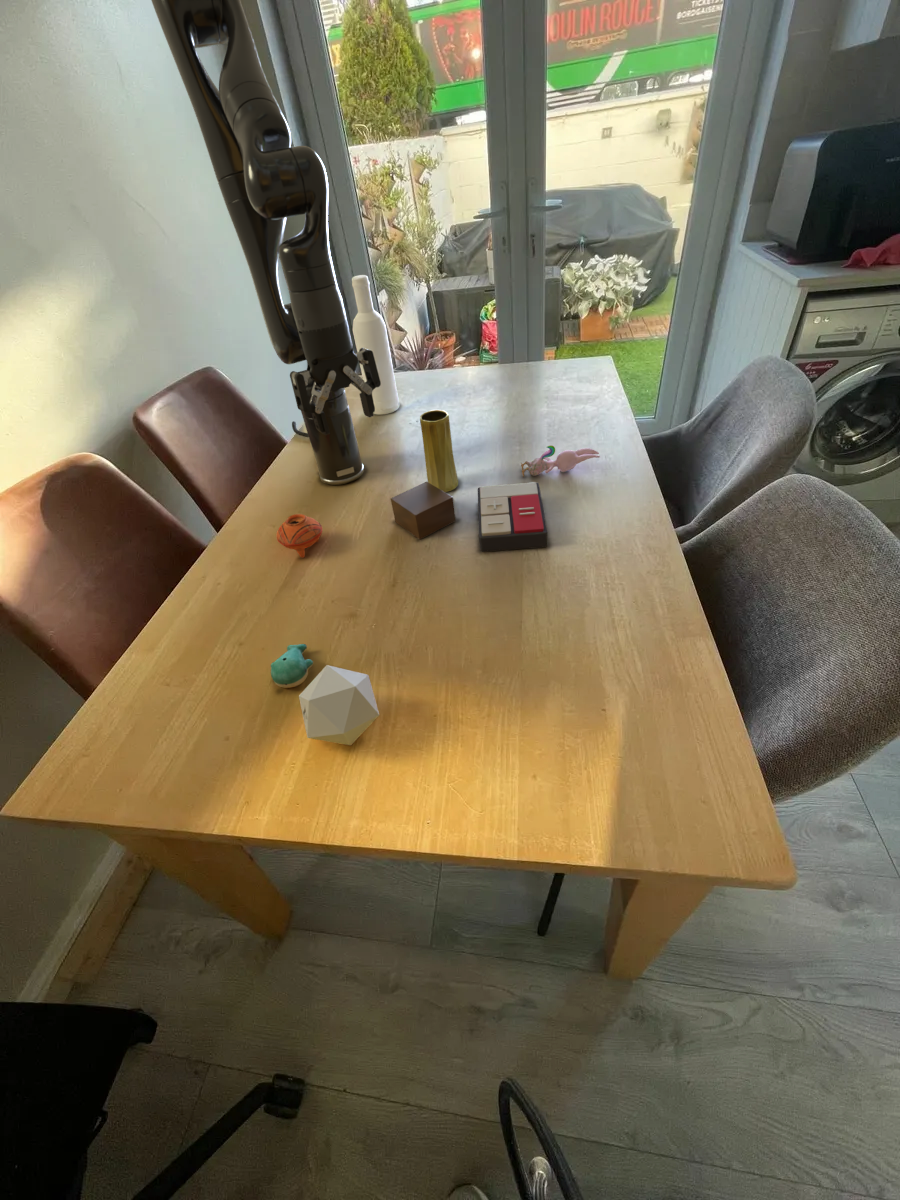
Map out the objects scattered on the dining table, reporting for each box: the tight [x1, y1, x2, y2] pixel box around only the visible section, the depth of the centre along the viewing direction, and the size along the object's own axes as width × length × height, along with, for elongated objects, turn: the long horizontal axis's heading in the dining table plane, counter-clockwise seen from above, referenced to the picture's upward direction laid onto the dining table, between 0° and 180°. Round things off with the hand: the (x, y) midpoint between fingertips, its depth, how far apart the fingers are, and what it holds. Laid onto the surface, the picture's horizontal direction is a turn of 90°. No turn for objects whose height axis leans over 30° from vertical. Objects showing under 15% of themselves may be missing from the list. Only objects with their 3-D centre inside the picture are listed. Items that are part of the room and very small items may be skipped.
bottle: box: [351, 274, 400, 416], centre depth 132 cm, size 8×8×30 cm
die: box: [298, 664, 380, 746], centre depth 65 cm, size 8×9×10 cm
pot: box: [275, 513, 323, 559], centre depth 96 cm, size 8×8×7 cm
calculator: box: [477, 481, 548, 553], centre depth 95 cm, size 11×4×15 cm
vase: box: [419, 409, 459, 493], centre depth 104 cm, size 6×6×14 cm
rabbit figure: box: [520, 445, 601, 478], centre depth 106 cm, size 6×6×15 cm
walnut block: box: [390, 481, 457, 540], centre depth 98 cm, size 8×8×5 cm
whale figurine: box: [270, 643, 314, 689], centre depth 74 cm, size 6×7×4 cm
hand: (347, 424), depth 93 cm, fingers open, 8 cm apart
